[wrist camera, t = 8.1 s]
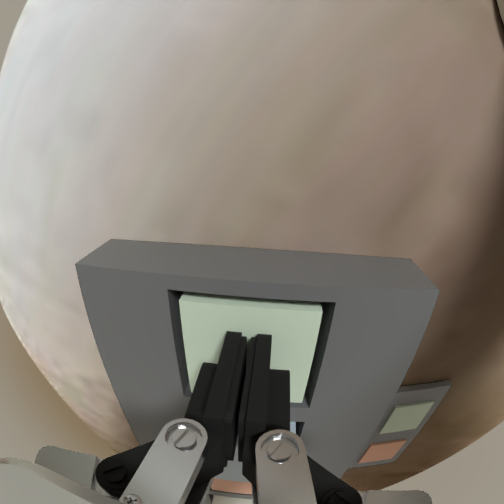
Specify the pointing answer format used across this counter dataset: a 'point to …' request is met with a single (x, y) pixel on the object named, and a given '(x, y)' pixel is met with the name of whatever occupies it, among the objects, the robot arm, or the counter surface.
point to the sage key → (251, 332)
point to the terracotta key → (231, 486)
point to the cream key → (230, 500)
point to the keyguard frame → (271, 287)
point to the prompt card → (401, 422)
